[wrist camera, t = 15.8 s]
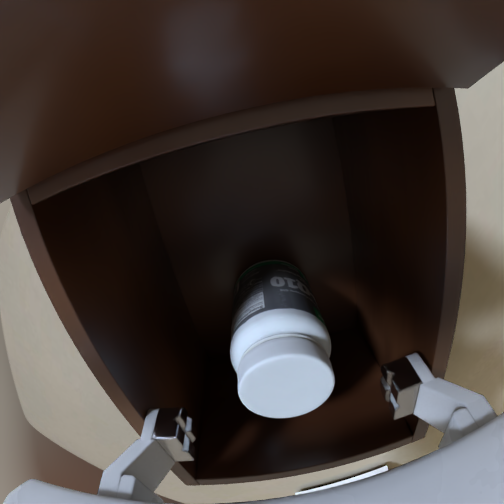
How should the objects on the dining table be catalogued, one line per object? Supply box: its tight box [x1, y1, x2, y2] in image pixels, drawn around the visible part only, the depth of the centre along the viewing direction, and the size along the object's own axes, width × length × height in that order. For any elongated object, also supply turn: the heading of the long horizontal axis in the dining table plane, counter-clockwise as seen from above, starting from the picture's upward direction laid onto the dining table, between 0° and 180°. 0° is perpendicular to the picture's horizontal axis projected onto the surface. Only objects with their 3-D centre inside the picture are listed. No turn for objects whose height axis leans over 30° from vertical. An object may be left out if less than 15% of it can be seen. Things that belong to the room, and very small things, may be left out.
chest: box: [10, 88, 466, 485], centre depth 14 cm, size 16×13×11 cm
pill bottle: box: [230, 260, 335, 418], centre depth 15 cm, size 5×5×8 cm
